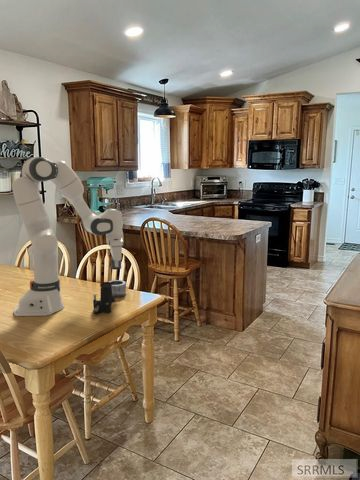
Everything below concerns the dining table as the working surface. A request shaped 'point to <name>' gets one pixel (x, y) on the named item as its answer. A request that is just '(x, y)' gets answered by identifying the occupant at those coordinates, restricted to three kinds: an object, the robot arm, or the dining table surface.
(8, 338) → the dining table surface
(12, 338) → the dining table surface
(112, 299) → the scope
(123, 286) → the grey short cylinder
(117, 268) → the cap
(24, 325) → the dining table surface
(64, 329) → the dining table surface
